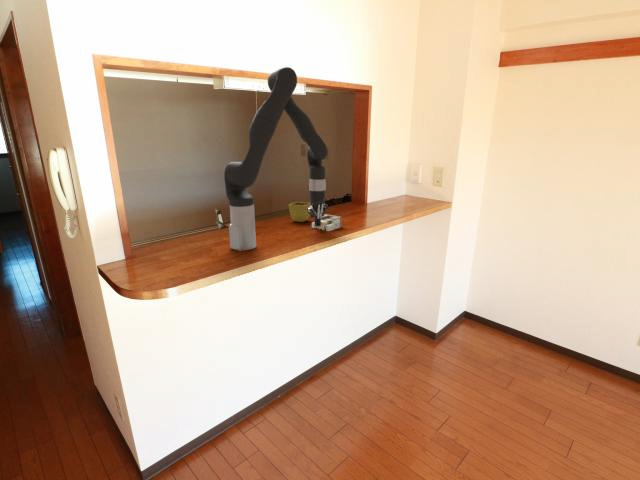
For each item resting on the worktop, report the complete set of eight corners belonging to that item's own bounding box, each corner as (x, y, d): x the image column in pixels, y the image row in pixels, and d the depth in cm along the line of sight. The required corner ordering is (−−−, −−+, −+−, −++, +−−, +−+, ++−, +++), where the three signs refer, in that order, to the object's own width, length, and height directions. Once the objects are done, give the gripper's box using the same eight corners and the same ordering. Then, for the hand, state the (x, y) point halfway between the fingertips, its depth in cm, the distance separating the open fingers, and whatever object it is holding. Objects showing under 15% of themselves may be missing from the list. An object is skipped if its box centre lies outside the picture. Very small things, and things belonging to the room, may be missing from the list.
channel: (328, 231, 168) (328, 220, 167) (311, 227, 175) (311, 217, 173) (341, 227, 176) (341, 216, 174) (325, 223, 182) (325, 213, 181)
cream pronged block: (323, 230, 171) (323, 222, 169) (315, 228, 174) (315, 220, 172) (334, 227, 176) (334, 219, 175) (326, 225, 180) (326, 217, 178)
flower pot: (288, 221, 187) (288, 204, 184) (297, 218, 194) (297, 201, 191) (303, 223, 183) (303, 205, 180) (311, 220, 190) (311, 202, 188)
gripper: (320, 186, 172) (320, 222, 177) (301, 189, 162) (302, 227, 167) (333, 188, 167) (332, 224, 172) (314, 191, 158) (314, 230, 163)
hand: (317, 226), depth 170 cm, fingers closed
